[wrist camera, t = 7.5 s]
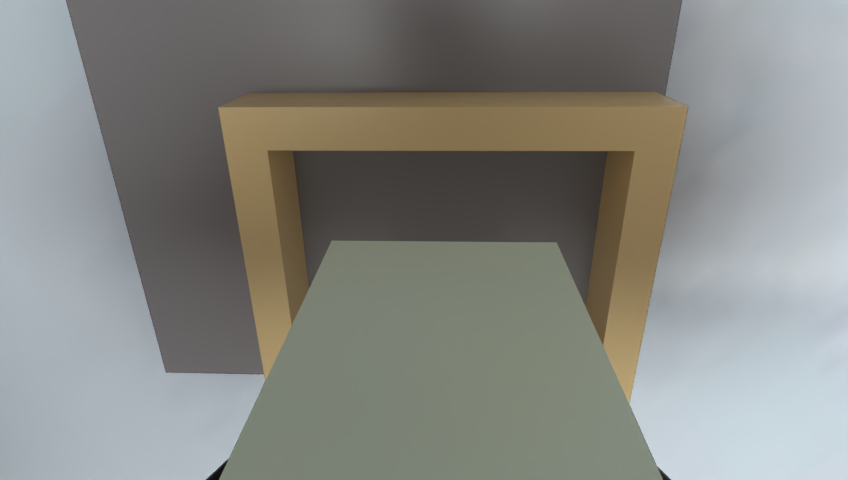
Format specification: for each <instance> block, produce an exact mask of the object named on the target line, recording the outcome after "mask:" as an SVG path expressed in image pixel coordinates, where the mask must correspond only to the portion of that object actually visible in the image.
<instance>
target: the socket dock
mask: <svg viewBox="0 0 848 480" xmlns="http://www.w3.org/2000/svg"><path fill="white" fill-rule="evenodd" d="M66 2H67V6H68V10H69V14H70V17H71V21H72V25H73V29H74V32H75V36H76V40H77V43H78V47H79V51H80V55H81V58H82V62H83V66H84V69H85V73H86V77H87V81H88V84H89V88H90V92H91V95H92V99H93V103H94V107H95V110H96V114H97V118H98V121H99V125H100V129H101V133H102V136H103V140H104V144H105V147H106V151H107V155H108V159H109V162H110V166H111V170H112V173H113V177H114V181H115V185H116V188H117V192H118V196H119V200H120V203H121V207H122V211H123V214H124V218H125V222H126V226H127V229H128V233H129V237H130V240H131V244H132V248H133V252H134V255H135V259H136V263H137V266H138V270H139V274H140V278H141V281H142V285H143V289H144V292H145V296H146V300H147V304H148V307H149V311H150V315H151V318H152V322H153V326H154V330H155V333H156V337H157V341H158V344H159V348H160V352H161V356H162V359H163V363H164V367H165V370H166V372H170V373H220V374H264V377H265V381H266V379H267V377H268V375H269V373H270V370H271V368H272V366H273V364H274V362H275V360H276V358H277V356H278V354H279V351H280V349H281V347H282V345H283V343H284V341H285V339H286V337H287V334H288V332H289V330H290V328H291V326H292V324H293V322H294V320H295V318H296V315H297V313H298V311H299V309H300V307H301V305H302V303H303V301H304V298H305V296H306V294H307V292H308V290H309V288H310V286H311V284H312V281H313V279H314V277H315V275H316V273H317V271H318V269H319V267H320V265H321V262H322V260H323V258H324V256H325V254H326V252H327V250H328V248H329V245H330V243H331V241H442V242H557V244H558V247H559V249H560V251H561V253H562V256H563V258H564V260H565V262H566V265H567V267H568V269H569V271H570V273H571V276H572V278H573V280H574V282H575V285H576V287H577V289H578V291H579V293H580V296H581V298H582V300H583V302H584V305H585V307H586V309H587V311H588V314H589V316H590V318H591V320H592V322H593V325H594V327H595V329H596V331H597V334H598V336H599V338H600V340H601V342H602V345H603V347H604V349H605V351H606V354H607V356H608V358H609V360H610V363H611V365H612V367H613V369H614V371H615V374H616V376H617V378H618V380H619V383H620V385H621V387H622V389H623V392H624V394H625V396H626V398H627V400H628V403H630V398H631V393H632V388H633V382H634V377H635V372H636V367H637V362H638V357H639V352H640V347H641V342H642V337H643V332H644V327H645V322H646V317H647V312H648V307H649V302H650V297H651V292H652V287H653V282H654V277H655V272H656V267H657V262H658V257H659V252H660V247H661V242H662V237H663V231H664V226H665V221H666V216H667V211H668V206H669V201H670V196H671V191H672V186H673V181H674V176H675V171H676V166H677V161H678V156H679V151H680V146H681V141H682V136H683V131H684V126H685V121H686V116H687V111H688V106H686V105H684V104H682V103H679V102H677V101H675V100H673V99H671V98H668V97H666V96H665V93H666V87H667V82H668V76H669V70H670V65H671V59H672V54H673V48H674V42H675V37H676V31H677V26H678V20H679V14H680V9H681V3H682V0H66Z"/></svg>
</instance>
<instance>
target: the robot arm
mask: <svg viewBox="0 0 848 480" xmlns="http://www.w3.org/2000/svg"><path fill="white" fill-rule="evenodd" d="M228 460H229V459H228ZM228 460H226V461H225V462H224V463H223V464H222V465H221V466H220V467H219V468H218V469H217V470H216V471H215V472H214V473H213V474H212V475H210V476H209V477H208V478H207V479H206V480H219V479H220V476H221V474H222V472H223V470H224V468H225V466H226V464H227V462H228ZM658 469H659V468H658ZM659 472H660V474H661V476H662V478H663V480H671V479H670V478H669V477H668V476H667V475H666V474H665V473H664V472H663V471H662V470H660V469H659Z"/></svg>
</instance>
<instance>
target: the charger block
mask: <svg viewBox="0 0 848 480" xmlns="http://www.w3.org/2000/svg"><path fill="white" fill-rule="evenodd" d="M219 480H663V478H662V476H661V474H660V472H659V469H658V467H657V465H656V463H655V461H654V458H653V456H652V454H651V452H650V449H649V447H648V445H647V443H646V441H645V438H644V436H643V434H642V432H641V429H640V427H639V425H638V423H637V420H636V418H635V416H634V414H633V412H632V409H631V407H630V405H629V403H628V400H627V398H626V396H625V394H624V392H623V389H622V387H621V385H620V383H619V380H618V378H617V376H616V374H615V371H614V369H613V367H612V365H611V363H610V360H609V358H608V356H607V354H606V351H605V349H604V347H603V345H602V342H601V340H600V338H599V336H598V334H597V331H596V329H595V327H594V325H593V322H592V320H591V318H590V316H589V314H588V311H587V309H586V307H585V305H584V302H583V300H582V298H581V296H580V293H579V291H578V289H577V287H576V285H575V282H574V280H573V278H572V276H571V273H570V271H569V269H568V267H567V265H566V262H565V260H564V258H563V256H562V253H561V251H560V249H559V247H558V244H557V242H442V241H331V243H330V245H329V248H328V250H327V252H326V254H325V256H324V258H323V260H322V262H321V265H320V267H319V269H318V271H317V273H316V275H315V277H314V279H313V281H312V284H311V286H310V288H309V290H308V292H307V294H306V296H305V298H304V301H303V303H302V305H301V307H300V309H299V311H298V313H297V315H296V318H295V320H294V322H293V324H292V326H291V328H290V330H289V332H288V334H287V337H286V339H285V341H284V343H283V345H282V347H281V349H280V351H279V354H278V356H277V358H276V360H275V362H274V364H273V366H272V368H271V370H270V373H269V375H268V377H267V379H266V381H265V383H264V385H263V387H262V390H261V392H260V394H259V396H258V398H257V400H256V402H255V404H254V407H253V409H252V411H251V413H250V415H249V417H248V419H247V421H246V423H245V426H244V428H243V430H242V432H241V434H240V436H239V438H238V440H237V443H236V445H235V447H234V449H233V451H232V453H231V455H230V457H229V460H228V462H227V464H226V466H225V468H224V470H223V472H222V474H221V476H220V479H219Z"/></svg>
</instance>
